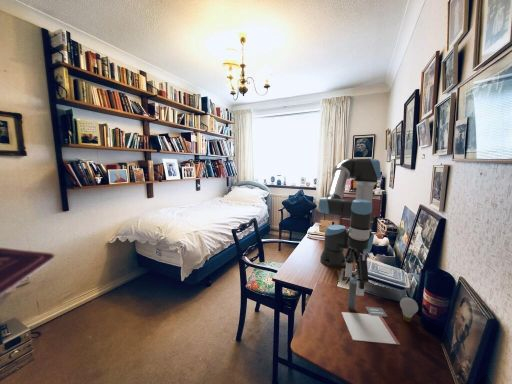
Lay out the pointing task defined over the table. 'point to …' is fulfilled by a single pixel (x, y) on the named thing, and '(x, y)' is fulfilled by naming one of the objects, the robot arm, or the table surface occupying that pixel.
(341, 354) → the table surface
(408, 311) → the light bulb
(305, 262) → the table surface
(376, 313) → the word card
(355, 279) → the marker
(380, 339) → the notepad
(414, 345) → the table surface
